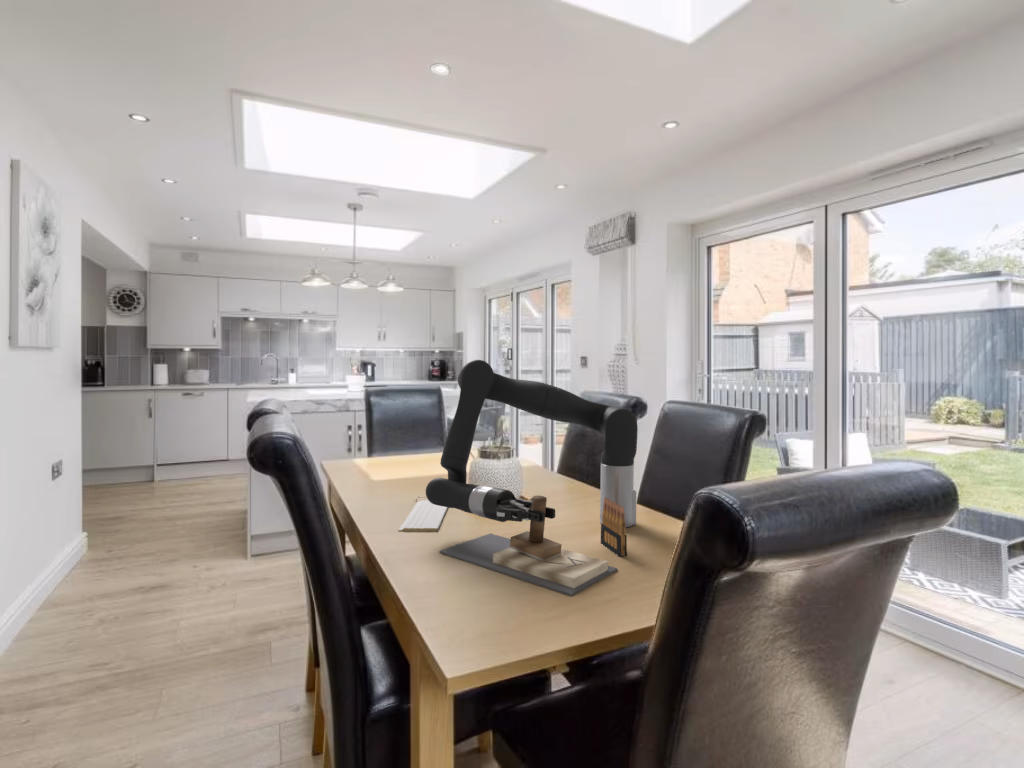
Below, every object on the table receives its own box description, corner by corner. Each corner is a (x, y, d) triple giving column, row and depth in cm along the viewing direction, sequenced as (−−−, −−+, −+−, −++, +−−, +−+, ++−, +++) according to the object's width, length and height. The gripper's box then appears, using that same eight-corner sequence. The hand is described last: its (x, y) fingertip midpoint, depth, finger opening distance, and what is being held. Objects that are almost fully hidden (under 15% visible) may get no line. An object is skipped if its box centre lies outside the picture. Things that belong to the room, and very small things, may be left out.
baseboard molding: (393, 533, 151) (437, 534, 151) (393, 522, 151) (437, 523, 151) (413, 504, 182) (450, 504, 182) (413, 495, 182) (450, 495, 182)
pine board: (492, 562, 126) (492, 553, 126) (528, 548, 136) (528, 540, 136) (574, 588, 112) (574, 578, 112) (607, 570, 122) (607, 561, 122)
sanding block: (509, 547, 128) (514, 494, 127) (526, 541, 132) (530, 489, 131) (544, 562, 121) (549, 506, 120) (560, 555, 126) (565, 501, 125)
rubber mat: (439, 552, 134) (439, 550, 134) (490, 535, 148) (490, 533, 148) (571, 596, 110) (571, 593, 110) (617, 570, 123) (617, 568, 123)
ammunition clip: (600, 543, 142) (600, 496, 142) (607, 542, 143) (607, 495, 142) (619, 557, 132) (620, 506, 132) (626, 556, 133) (627, 506, 132)
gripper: (471, 492, 130) (529, 504, 119) (511, 483, 140) (567, 493, 129) (471, 524, 130) (529, 539, 119) (511, 512, 141) (567, 525, 129)
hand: (548, 515), depth 124 cm, fingers closed on sanding block, 3 cm apart
